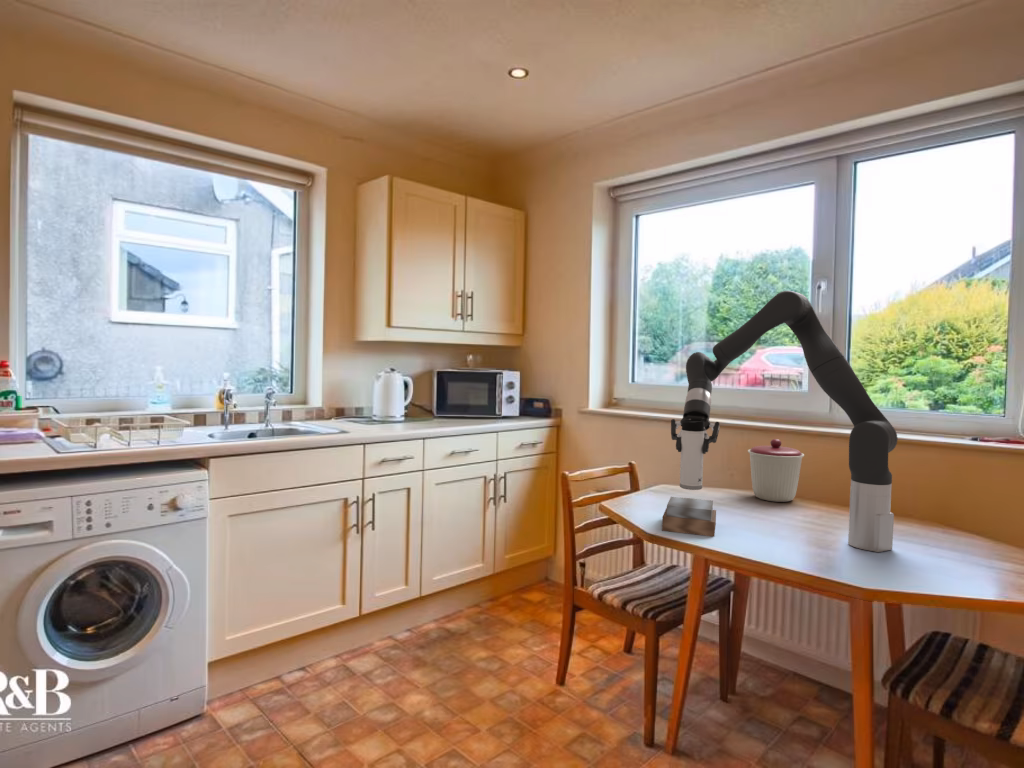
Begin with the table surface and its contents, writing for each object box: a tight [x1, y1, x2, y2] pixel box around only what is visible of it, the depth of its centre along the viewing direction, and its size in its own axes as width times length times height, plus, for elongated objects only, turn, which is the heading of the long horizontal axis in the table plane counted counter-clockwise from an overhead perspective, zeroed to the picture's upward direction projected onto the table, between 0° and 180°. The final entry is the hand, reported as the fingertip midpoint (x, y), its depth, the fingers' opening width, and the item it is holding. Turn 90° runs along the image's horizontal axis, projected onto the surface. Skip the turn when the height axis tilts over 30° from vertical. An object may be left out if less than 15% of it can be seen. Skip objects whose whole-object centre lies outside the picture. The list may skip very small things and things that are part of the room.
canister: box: [747, 438, 805, 503], centre depth 213 cm, size 18×18×21 cm
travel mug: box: [679, 418, 706, 491], centre depth 175 cm, size 6×7×20 cm
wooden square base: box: [661, 496, 717, 537], centre depth 175 cm, size 14×14×7 cm
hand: (691, 451), depth 173 cm, fingers closed on travel mug, 6 cm apart
